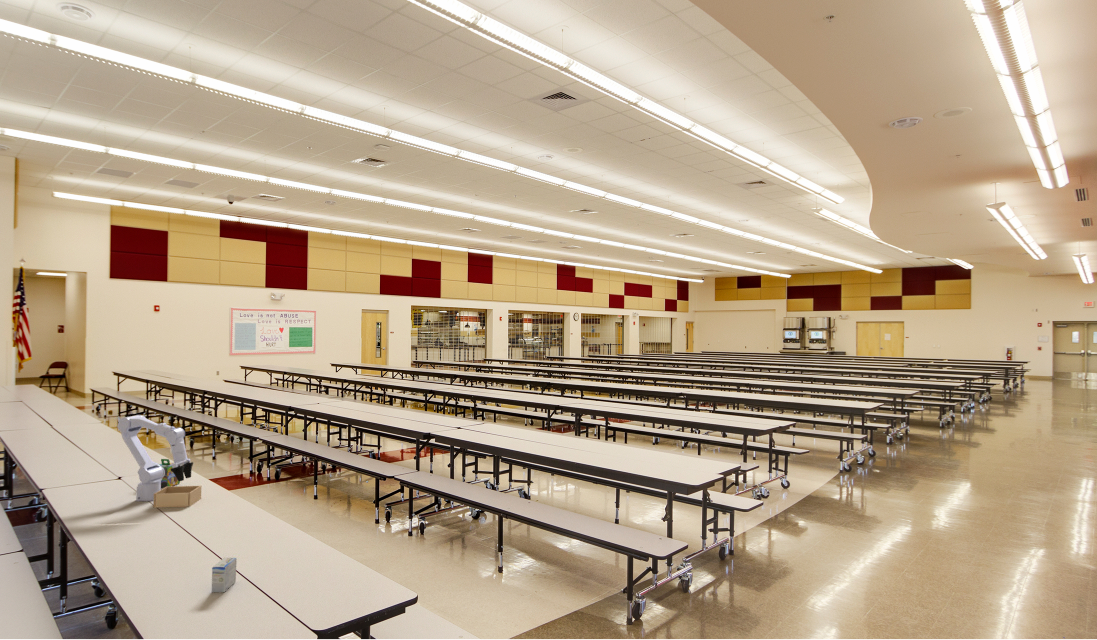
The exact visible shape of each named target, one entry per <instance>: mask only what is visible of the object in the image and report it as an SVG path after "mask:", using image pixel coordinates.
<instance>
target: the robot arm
mask: <svg viewBox="0 0 1097 640" xmlns="http://www.w3.org/2000/svg"><path fill="white" fill-rule="evenodd" d="M116 427H117V429H118V430H119V432H120V433H121V437H122V440H123V441H124V443H125V445H126V447H127V448H128V450H129V452H130V453H131V455H132V456H133V458H134V461H136V463H137V464H138V466H139V469H138V470H137V474H138V477H139V481H140V482H138V484H137V486H136V493H135V494H136V497H135V502H151V501H152V502H154V494H155V493H156V492H158V491H160V490H161V489H162V488H161V480H162V478H163V477H164V475H165V470H164V469H163V468H162V467H161V466H160V465H159V464H160V463H159V462H156V461H153V460H152V458H151V456H150V455H149V453H148V452H147V450H146V448H145V447H144V445H143V444H142V442H141V440H140V439H139V437H138V434H139V433H140V431H141V429H142V428H145V429H149V430H151V431H154V434H156V435H158V436H160V437H163V438H165V439H166V441H167V442H168V444H169V446H170V448H171V453H172V459H173V462H172V463H173V464H172V469H171V471H172V472H173V473H174V474H175V476H176V478H177V479H178V481H180V482H182V481H185V479H190V478H191V477H192V469H193V465H194V462H193V461H191V458H188V455H187V449H186V445H185V439H184V438H185V437H186V431H185V430H184V429H183V428H182V427H175V426H173V425H172V426H171V425H168V424H167V423H166V422H161V423H157V422H155V421H153V420H151V419H148V418H146V416H145V415H141V414H136V415H132V416H131V415H130V416H127V417H125V416H123V417H121V418H120V419H119V420H118V423H117V426H116ZM179 464H180V465H179Z"/></svg>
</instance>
